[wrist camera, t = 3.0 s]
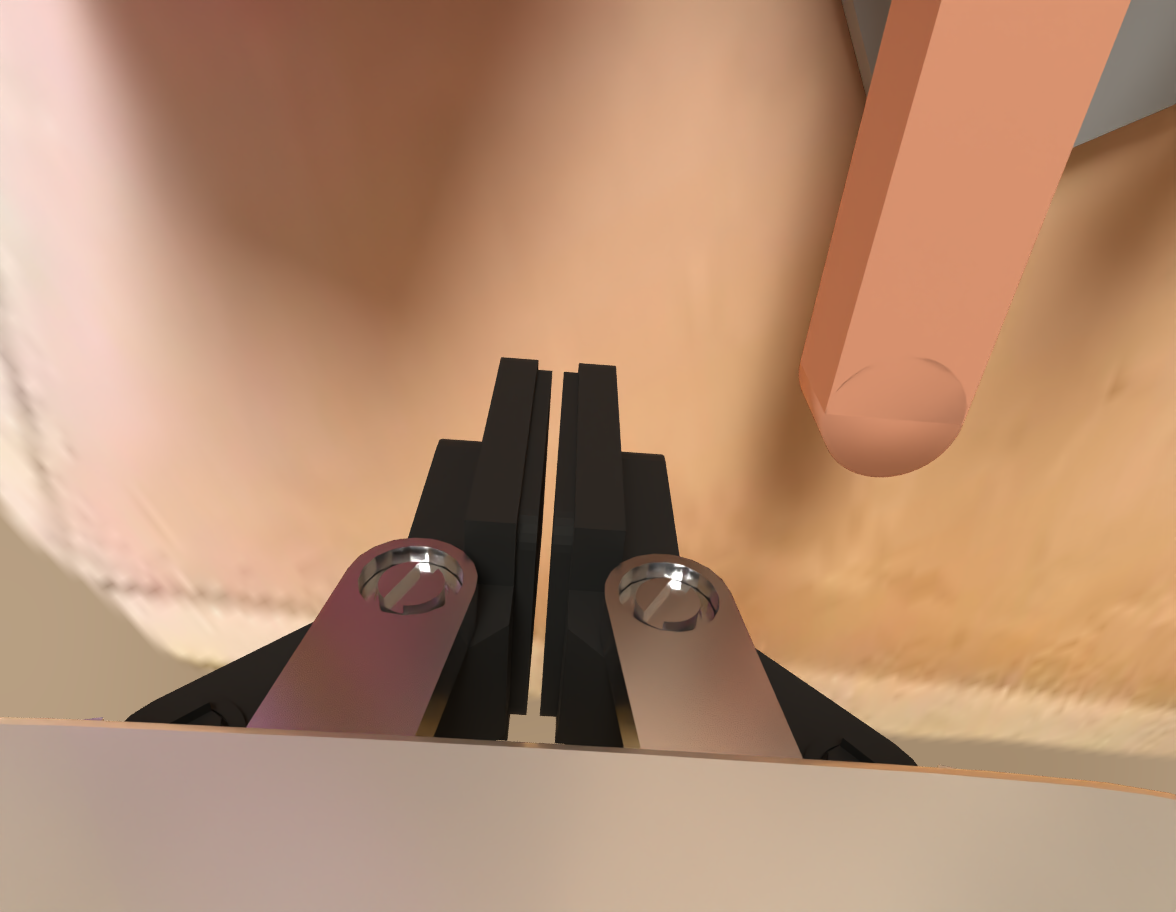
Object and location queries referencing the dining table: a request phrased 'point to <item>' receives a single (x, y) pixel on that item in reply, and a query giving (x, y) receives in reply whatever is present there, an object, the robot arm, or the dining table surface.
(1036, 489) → the dining table surface
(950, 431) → the latch arm
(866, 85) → the board
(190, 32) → the dining table surface
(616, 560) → the robot arm
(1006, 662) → the dining table surface
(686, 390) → the dining table surface
